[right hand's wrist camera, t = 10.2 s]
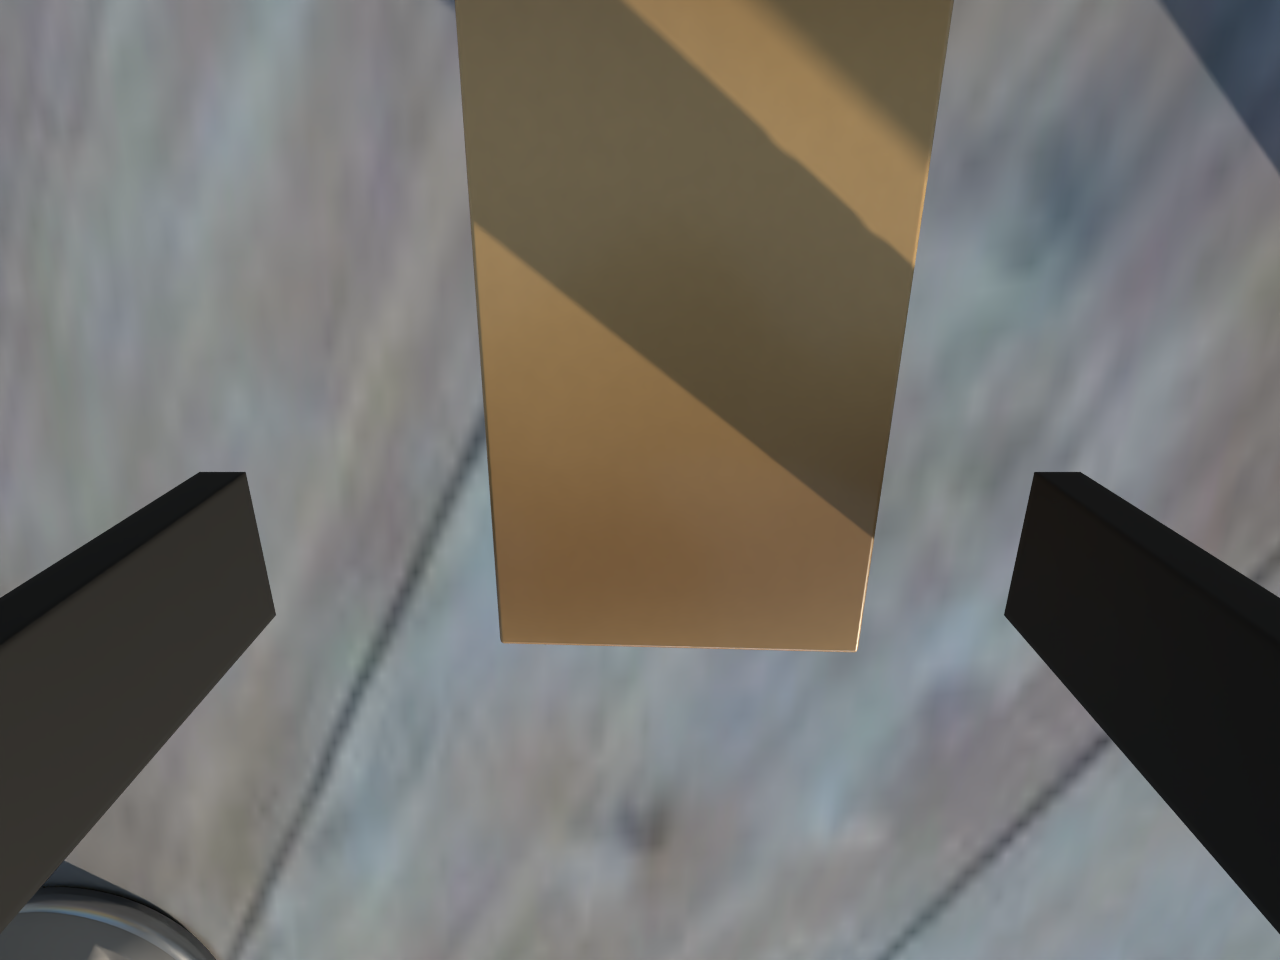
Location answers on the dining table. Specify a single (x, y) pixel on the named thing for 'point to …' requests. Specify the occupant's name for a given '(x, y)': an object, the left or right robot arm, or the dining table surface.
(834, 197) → the bar
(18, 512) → the dining table surface
